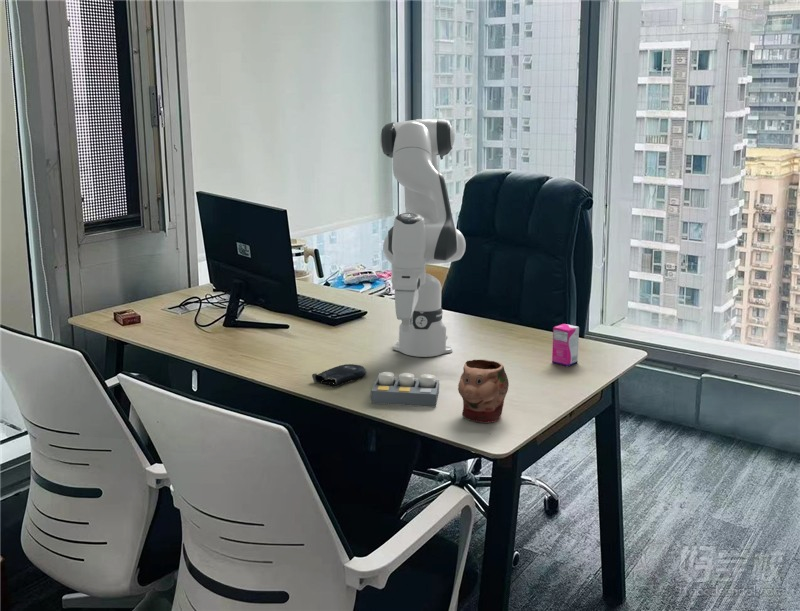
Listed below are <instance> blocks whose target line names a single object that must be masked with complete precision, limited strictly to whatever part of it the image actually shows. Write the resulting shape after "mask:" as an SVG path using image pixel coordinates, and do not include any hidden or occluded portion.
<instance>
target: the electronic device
mask: <svg viewBox="0 0 800 611" xmlns="http://www.w3.org/2000/svg"><path fill="white" fill-rule="evenodd" d="M367 374H368V373H367V369H366V368H365V367H364V366H363V365H361V364H360V365H359V364H355V363H352V364H351V363H348V364H347V363H345V364H342V365H341V364H340V365H338V366H334V367H332V368H329V369H326V370H325V371H321V372H320V373H312V374H311V377H312V380H313V383H318V384H319V385H323V386H326V387H331V388H336V387H338V386H341V385H344V384H346V383H347V384H348V383H349V382H354V381H356V380H357V381H358V380H360V379H363V378H364V377H366V375H367ZM330 379H332V380H335V381H336V382H335V383H334V382H333V381H332V380H330ZM323 381H326V382H323ZM333 383H334V384H333Z"/></svg>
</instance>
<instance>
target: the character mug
mask: <svg viewBox="0 0 800 611" xmlns="http://www.w3.org/2000/svg"><path fill="white" fill-rule="evenodd" d="M509 384H510V383H509V377H508V374H507V373H506V370H505V366H504V365H503V363H501V362H499V361H495V360H489V359H483V358H482V359H470V360H467V361H466V362H464V366H463V371H462V373H461V376H460V379H459V381H458V385H457V390H458V393H459V395H460V397H461V398H462V401H463V402H462V403H463V404H462V406H463V408H462V414H461V415H462V416H463V418H465V419H466V420H469V421H471V422H472V421H473V422H476V423H486V424H487V423H489V424H490V423H495V422H497V421H498V420H500V417H501V416H502V413H503V408H504V402H505V399H506V396H507V394H508V392H509Z"/></svg>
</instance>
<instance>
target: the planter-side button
mask: <svg viewBox="0 0 800 611" xmlns="http://www.w3.org/2000/svg"><path fill="white" fill-rule="evenodd" d="M419 379H420V386H421V387H423V388H432V387H434V386H435V380H436V376H435V375H434V374H430V373H429V374H428V373H424V374H420V375H419Z"/></svg>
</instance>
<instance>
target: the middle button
mask: <svg viewBox="0 0 800 611" xmlns="http://www.w3.org/2000/svg"><path fill="white" fill-rule="evenodd" d="M398 376H399V385H400V386H403V387H411V386H413V385H414V379H415V375H414V374H413V373H410V372H403V373H401V374H399V375H398Z"/></svg>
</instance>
